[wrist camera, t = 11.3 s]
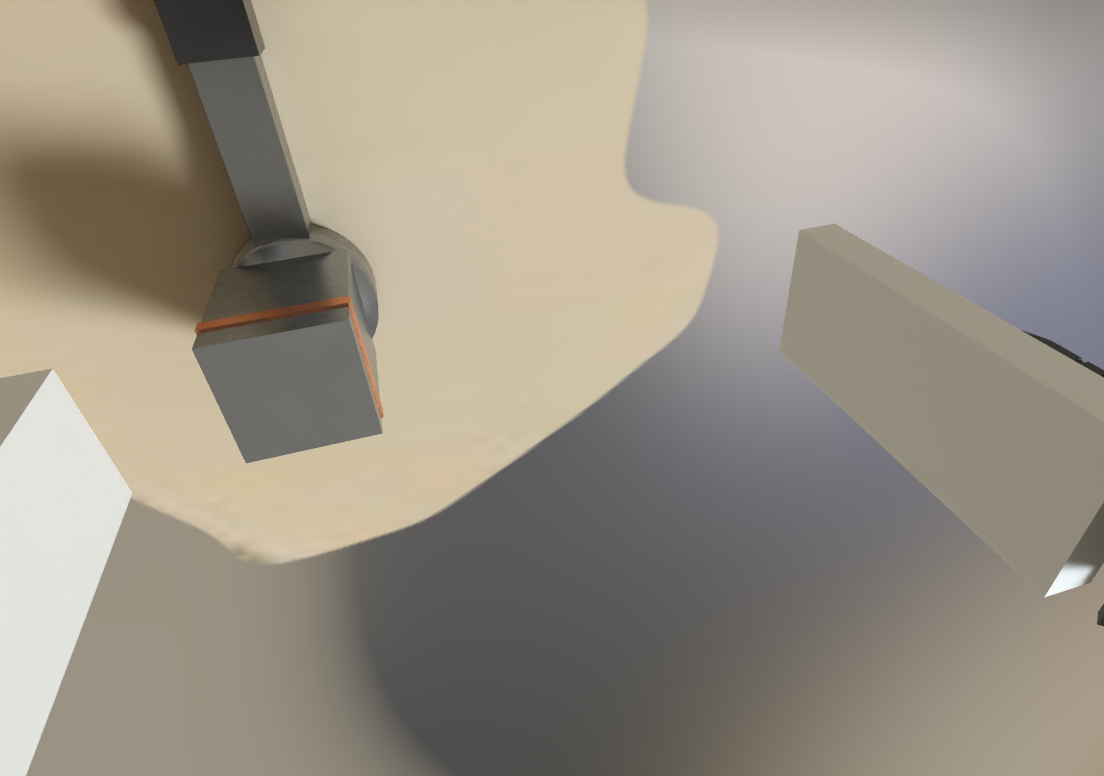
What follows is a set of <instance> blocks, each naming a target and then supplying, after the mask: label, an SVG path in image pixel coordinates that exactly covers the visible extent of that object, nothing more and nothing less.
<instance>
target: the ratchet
mask: <svg viewBox="0 0 1104 776" xmlns="http://www.w3.org/2000/svg"><path fill="white" fill-rule="evenodd" d="M154 1H155V4H156V6H157V9H158V12H159V14H160V17H161V20H162V23H163V25H164V28H165V31H166V33H167V36H168V39H169V41H170V44H171V47H172V49H173V52H174V55H175V57H176V60H177V63H178V65H181V64H188V66H189V69H190V71H191V74H192V77H193V80H194V82H195V85H196V88H197V90H198V93H199V96H200V99H201V101H202V104H203V107H204V110H205V112H206V115H207V118H208V121H209V123H210V126H211V129H212V132H213V134H214V137H215V140H216V142H217V145H218V148H219V151H220V153H221V156H222V159H223V162H224V164H225V167H226V170H227V173H228V175H229V178H230V181H231V184H232V186H233V189H234V192H235V195H236V197H237V200H238V203H239V205H240V208H241V211H242V214H243V216H244V219H245V222H246V225H247V227H248V230H249V233H250V236H251V239H249V240H248V241H247V242H246V243H245V244H244V245H243V247H242V248H241V249H240V251H239V252H238V254H237V256H236V257H235V259H234V262H233V265H232V268H238V267H244V266H249V265H255V264H261V263H267V262H273V261H279V260H285V259H291V258H297V257H303V256H309V255H315V254H321V253H327V252H333V251H339V250H345V249H348V252H349V256H350V260H351V263H352V267H353V271H354V274H355V278H356V282H357V285H358V289H359V293H360V296H361V300H362V303H363V307H364V311H365V314H366V318H367V322H368V325H369V329H370V333H371V336H372V338H373V336H374V333H375V331H376V327H377V323H378V301H377V292H376V283H375V278H374V275H373V272H372V269H371V267H370V265H369V263H368V261H367V259H366V258H365V256H364V255H363V254H362V253H361V251H360V250H359V249H358V248H357V247H356V246H355V245H354V244H353V243H351V242H350V241H349V240H348V239H346V238H345V237H343V236H342V235H340V234H338V233H336V232H334V231H332V230H329V229H327V228H324V227H321V226H317V225H312V224H311V221H310V217H309V214H308V211H307V208H306V204H305V201H304V198H303V194H302V191H301V188H300V184H299V181H298V178H297V175H296V171H295V168H294V165H293V161H292V158H291V155H290V151H289V148H288V145H287V142H286V138H285V135H284V132H283V128H282V125H281V122H280V118H279V115H278V112H277V108H276V105H275V102H274V99H273V95H272V92H271V89H270V85H269V82H268V79H267V75H266V72H265V69H264V66H263V62H262V59H261V56H260V54H261V53H262V51H263V50H264V49H265V46H264V43H263V40H262V36H261V33H260V30H259V26H258V23H257V20H256V16H255V13H254V9H253V6H252V3H251V0H154ZM232 268H231V269H232Z"/></svg>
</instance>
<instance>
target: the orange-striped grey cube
mask: <svg viewBox="0 0 1104 776" xmlns="http://www.w3.org/2000/svg"><path fill="white" fill-rule="evenodd" d="M195 332H196V334H197V336H196V339H195V342H194V345H193V347H192V350H193V352H194V354H195V357H196V359H197V361H198V363H199V365H200V367H201V369H202V371H203V373H204V376H205V378H206V380H207V382H208V384H209V386H210V388H211V390H212V392H213V395H214V397H215V399H216V401H217V403H218V405H219V407H220V409H221V411H222V414H223V416H224V418H225V420H226V422H227V424H228V426H229V428H230V430H231V433H232V435H233V437H234V439H235V441H236V443H237V445H238V447H239V449H240V452H241V454H242V456H243V458H244V460H245V462H246V463H249V462H254V461H258V460H263V459H268V458H272V457H277V456H281V455H286V454H290V453H295V452H300V451H304V450H309V449H313V448H318V447H322V446H327V445H332V444H336V443H341V442H345V441H350V440H354V439H359V438H363V437H368V436H373V435H377V434H382V433H383V432H382V420H381V417H383V408H382V404H381V401H380V397H379V386H378V374H377V363H376V351H375V347H374V344H373V340H372V336H371V333H370V329H369V325H368V322H367V318H366V314H365V311H364V307H363V303H362V300H361V296H360V293H359V289H358V285H357V282H356V278H355V274H354V271H353V267H352V263H351V260H350V256H349V252H348V249H345V250H339V251H333V252H327V253H321V254H315V255H309V256H303V257H297V258H291V259H285V260H279V261H273V262H267V263H261V264H255V265H249V266H244V267H238V268H232V269H226V270H220V273H219V276H218V279H217V281H216V284H215V287H214V290H213V292H212V295H211V298H210V301H209V303H208V306H207V309H206V312H205V314H204V317H203V320H202V322H200V323H197V326H196V328H195Z"/></svg>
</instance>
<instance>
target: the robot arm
mask: <svg viewBox="0 0 1104 776" xmlns="http://www.w3.org/2000/svg"><path fill="white" fill-rule="evenodd" d="M780 352H782V353H783V354H784V355H785V356H786V357H787V358H788V359H789V360H790V361H791V362H792V363H793V364H794V365H796V366H797V367H798V368H799V369H800V370H801V371H802V372H803V373H804V374H805V375H806V376H807V377H808V378H809V379H811V380H812V381H813V382H814V383H815V384H816V385H817V386H818V387H819V388H820V389H821V390H822V391H824V392H825V393H826V394H827V395H828V396H829V397H830V398H831V399H832V400H833V401H834V402H835V403H836V404H837V405H838V406H840V407H841V408H842V409H843V410H844V411H845V412H846V413H847V414H848V415H849V416H850V417H851V418H852V419H854V420H855V421H856V422H857V423H858V424H859V425H860V426H861V427H862V428H863V429H864V430H865V431H866V432H867V433H869V434H870V435H871V436H872V437H873V438H874V439H875V440H876V441H877V442H878V443H879V444H880V445H881V446H883V447H884V448H885V449H886V450H887V451H888V452H889V453H890V454H891V455H892V456H894V458H895V459H896V460H898V461H899V462H900V463H901V464H902V465H903V466H904V467H905V468H906V469H907V470H908V471H910V473H912V474H913V475H914V476H915V477H916V478H917V479H918V480H919V481H920V482H921V483H922V484H923V485H924V486H926V487H927V488H928V489H929V490H930V491H931V492H932V493H933V494H934V495H935V496H936V497H937V498H938V499H940V500H941V501H942V502H943V503H944V504H945V505H946V506H947V507H948V508H949V509H950V510H951V511H952V512H953V513H955V514H956V515H957V516H958V517H959V518H960V519H961V520H962V521H963V522H964V523H965V524H966V525H967V526H969V527H970V528H971V529H972V530H973V531H974V532H975V533H976V534H977V535H978V536H979V537H980V538H981V539H982V540H984V541H985V542H986V543H987V544H988V545H989V546H990V547H991V548H992V549H993V550H994V551H995V552H996V553H997V554H999V555H1000V556H1001V557H1002V558H1003V559H1004V560H1005V561H1006V562H1007V563H1008V564H1009V565H1010V566H1011V567H1013V568H1014V569H1015V570H1016V571H1017V572H1018V573H1019V574H1020V575H1021V576H1022V577H1023V578H1024V579H1025V580H1026V581H1028V582H1029V583H1030V584H1031V585H1032V586H1033V587H1034V588H1035V589H1036V590H1037V591H1038V592H1039V593H1040V594H1041V595H1043V596H1044V597H1047V596H1049V595H1053V594H1056V593H1059V592H1062V591H1065V590H1068V589H1072V588H1075V587H1077V586H1081V585H1084V584H1087V583H1090V582H1091V581H1092V579H1093V578H1094V576H1095V575H1096V573H1097V572H1098V570H1099V569H1100V567H1101V566H1102V564H1103V563H1104V370H1102V369H1101V368H1099V367H1097V366H1095V365H1093V364H1092V363H1090V362H1085V363H1083V362H1082V358H1081V357H1079V356H1077V355H1076V354H1074V353H1072V352H1070V351H1069V350H1067V349H1065V348H1063V347H1061V346H1060V345H1058V344H1056V343H1054V342H1053V341H1051V340H1048V339H1045V338H1042V337H1040V336H1037V335H1034V334H1031V333H1028V332H1025V331H1022V330H1019V329H1018V328H1016V327H1014V326H1012V325H1011V324H1009V323H1007V322H1005V321H1004V320H1002V319H1000V318H998V317H997V316H995V315H993V314H991V313H989V312H988V311H986V310H984V309H983V308H981V307H979V306H977V305H976V304H974V303H972V302H970V301H969V300H967V299H965V298H963V297H962V296H960V295H958V294H956V293H955V292H953V291H951V290H949V289H948V288H946V287H944V286H942V285H941V284H939V283H937V282H935V281H934V280H932V279H930V278H928V277H927V276H925V275H923V274H921V273H920V272H918V271H916V270H914V269H913V268H911V267H909V266H907V265H906V264H904V263H902V262H900V261H899V260H897V259H895V258H893V257H892V256H890V255H888V254H886V253H885V252H883V251H881V250H879V249H878V248H876V247H874V246H872V245H871V244H869V243H867V242H865V241H864V240H862V239H860V238H858V237H857V236H855V235H853V234H851V233H850V232H848V231H846V230H844V229H843V228H841V227H839V226H837V225H836V224H831V225H825V226H820V227H815V228H810V229H804V230H799V235H798V242H797V247H796V254H795V260H794V265H793V272H792V278H791V284H790V290H789V296H788V302H787V308H786V314H785V320H784V326H783V332H782V338H781V344H780ZM131 495H132V492H131V490H130V489H129V487H128V486H127V484H126V483H125V481H124V479H123V478H122V476H121V475H120V473H119V472H118V470H117V469H116V467H115V465H114V464H113V462H112V461H111V459H110V458H109V456H108V454H107V453H106V451H105V450H104V448H103V447H102V445H101V443H100V442H99V440H98V439H97V437H96V436H95V434H94V433H93V431H92V429H91V428H90V426H89V425H88V423H87V422H86V420H85V418H84V417H83V415H82V414H81V412H80V411H79V409H78V407H77V406H76V404H75V403H74V401H73V400H72V398H71V397H70V395H69V393H68V392H67V390H66V389H65V387H64V386H63V384H62V382H61V381H60V379H59V378H58V376H57V375H56V373H55V371H54V370H53V369H48V370H43V371H37V372H32V373H27V374H21V375H16V376H11V377H5V378H0V776H26V774H27V771H28V768H29V766H30V763H31V761H32V758H33V756H34V753H35V750H36V747H37V745H38V742H39V740H40V737H41V734H42V731H43V729H44V726H45V724H46V721H47V718H48V716H49V713H50V710H51V708H52V705H53V702H54V700H55V697H56V694H57V692H58V689H59V686H60V684H61V681H62V678H63V676H64V673H65V670H66V668H67V665H68V663H69V660H70V657H71V655H72V652H73V649H74V647H75V644H76V641H77V639H78V636H79V633H80V631H81V628H82V625H83V622H84V620H85V617H86V615H87V612H88V609H89V607H90V604H91V601H92V598H93V596H94V593H95V591H96V588H97V585H98V583H99V580H100V577H101V574H102V572H103V569H104V567H105V564H106V561H107V559H108V556H109V553H110V551H111V548H112V545H113V543H114V540H115V538H116V535H117V532H118V529H119V527H120V524H121V522H122V518H123V516H124V514H125V511H126V508H127V505H128V503H129V500H130V498H131ZM1097 624H1098V625H1102V626H1104V604H1103V606H1102V607H1101V609H1100V610H1099V611H1098V620H1097Z"/></svg>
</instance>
